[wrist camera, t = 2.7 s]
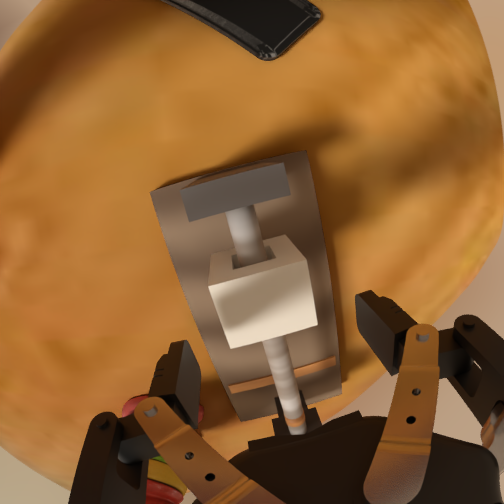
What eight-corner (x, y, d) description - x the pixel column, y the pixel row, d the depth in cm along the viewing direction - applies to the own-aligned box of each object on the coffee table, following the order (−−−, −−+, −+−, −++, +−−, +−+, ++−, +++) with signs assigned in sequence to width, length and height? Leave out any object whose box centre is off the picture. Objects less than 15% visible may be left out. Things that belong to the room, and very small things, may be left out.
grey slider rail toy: (154, 190, 21) (111, 209, 12) (300, 150, 21) (350, 145, 12) (240, 412, 29) (247, 476, 21) (337, 385, 30) (366, 443, 21)
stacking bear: (195, 446, 31) (195, 557, 14) (124, 431, 29) (102, 539, 13) (206, 399, 28) (208, 545, 11) (119, 381, 27) (78, 517, 10)
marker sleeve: (211, 254, 18) (208, 286, 14) (285, 234, 18) (306, 259, 14) (227, 306, 20) (230, 348, 15) (296, 287, 20) (317, 324, 15)
